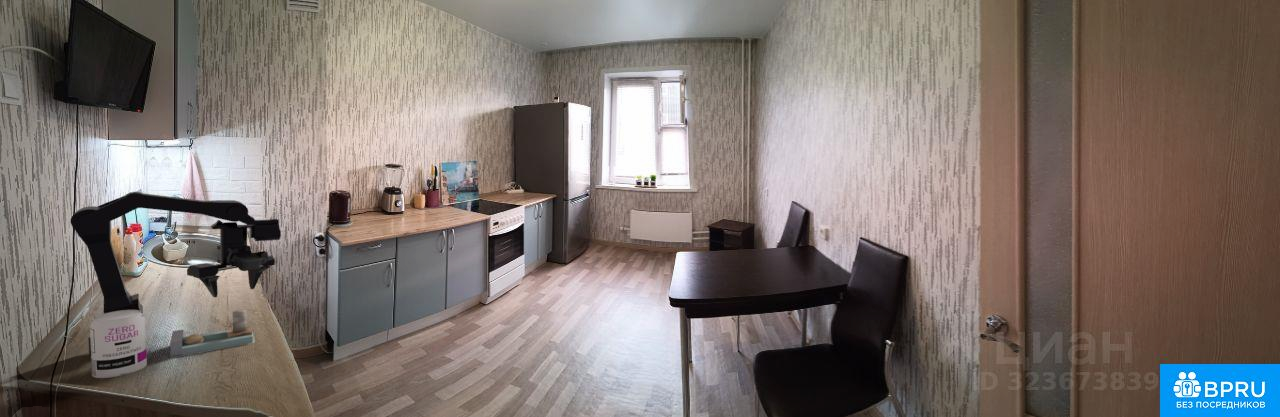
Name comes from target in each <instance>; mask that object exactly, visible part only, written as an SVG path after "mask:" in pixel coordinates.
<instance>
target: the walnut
mask: <svg viewBox="0 0 1280 417" xmlns="http://www.w3.org/2000/svg"><path fill="white" fill-rule="evenodd" d="M186 337H187V338H186V339H185V341H184V344H185V346H188V345H194V344H200V343H202V342H203V337H202V336H201V335H200V334H199V333H194V334H190V335H188V336H186Z"/></svg>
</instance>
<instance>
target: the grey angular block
mask: <svg viewBox="0 0 1280 417" xmlns="http://www.w3.org/2000/svg"><path fill="white" fill-rule="evenodd" d="M184 337H185V331H184V329H179V330H172V332H171V338H170V342H169V344H170V349H169V350H170V358H171V357H175V356H180V357H182V356H181V355H182V346H184ZM175 358H176V357H175Z"/></svg>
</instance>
